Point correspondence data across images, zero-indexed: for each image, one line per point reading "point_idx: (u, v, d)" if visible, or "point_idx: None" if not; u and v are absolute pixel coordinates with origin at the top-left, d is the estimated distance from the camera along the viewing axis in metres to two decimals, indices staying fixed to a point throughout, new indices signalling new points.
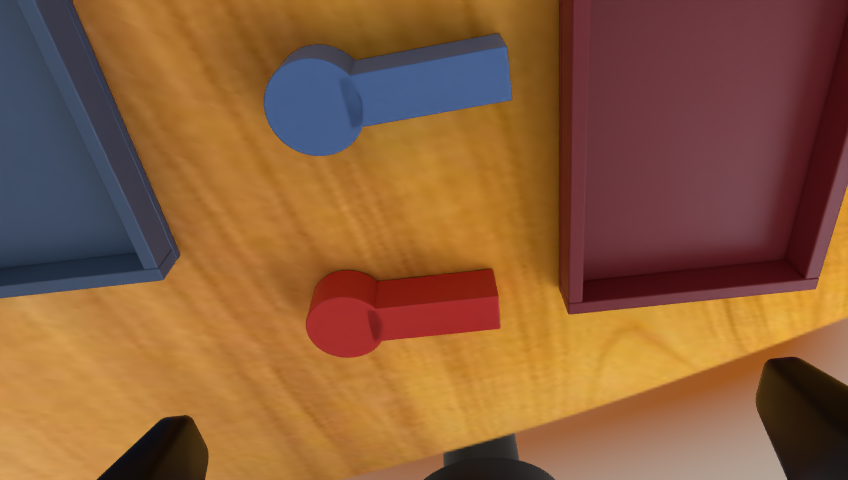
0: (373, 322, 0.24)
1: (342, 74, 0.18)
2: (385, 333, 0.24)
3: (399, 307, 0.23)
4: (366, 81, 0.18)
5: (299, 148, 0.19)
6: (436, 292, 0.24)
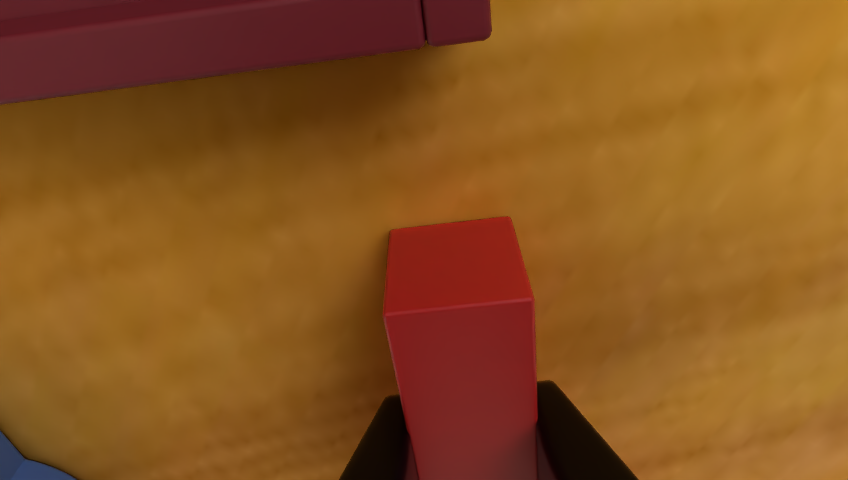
0: None
1: None
2: None
3: None
4: None
5: None
6: None
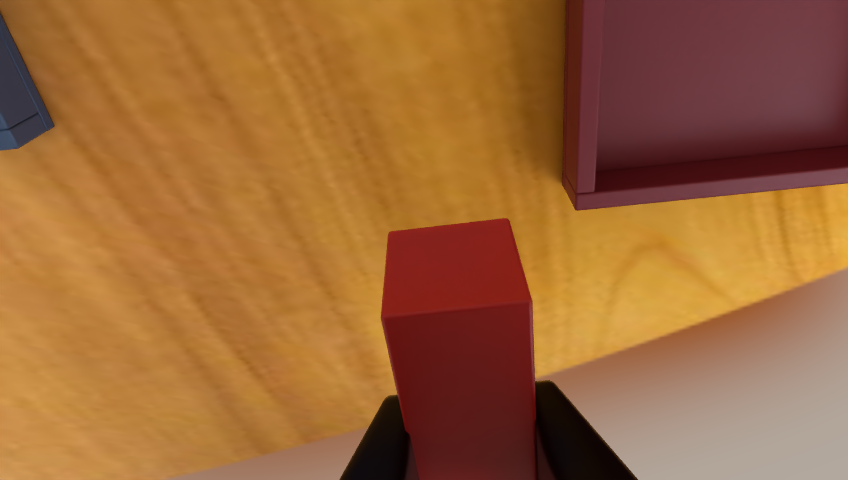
0: None
1: None
2: None
3: None
4: None
5: None
6: None
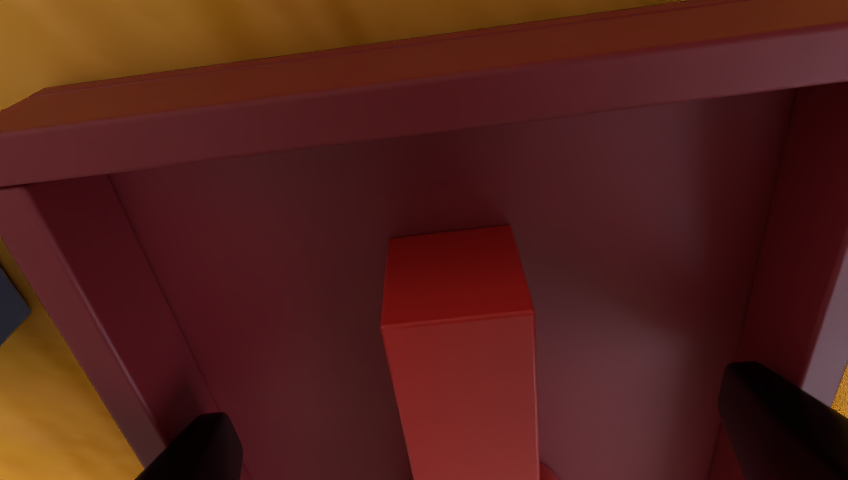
0: None
1: None
2: None
3: None
4: None
5: None
6: None
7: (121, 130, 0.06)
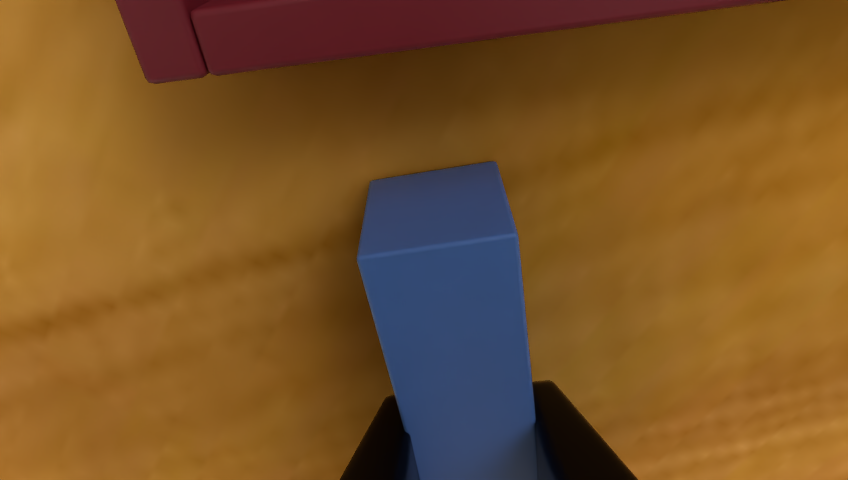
0: None
1: None
2: None
3: None
4: None
5: None
6: None
7: None
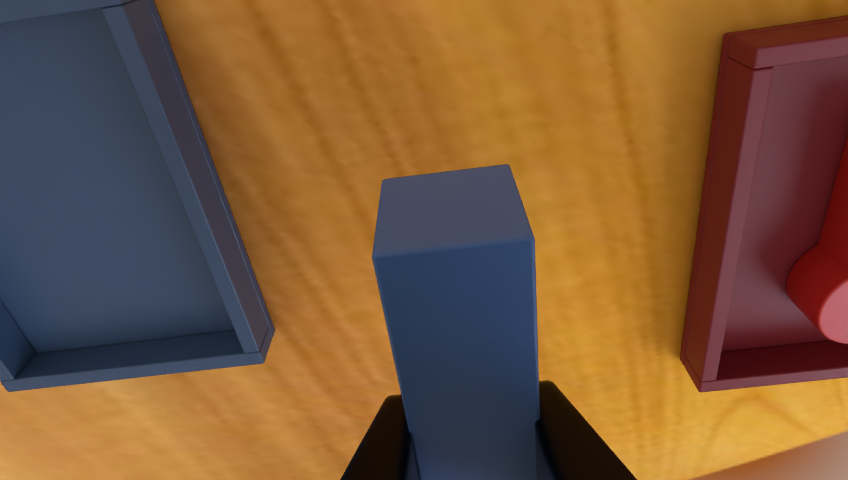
0: None
1: None
2: None
3: None
4: None
5: None
6: None
7: (828, 42, 0.15)
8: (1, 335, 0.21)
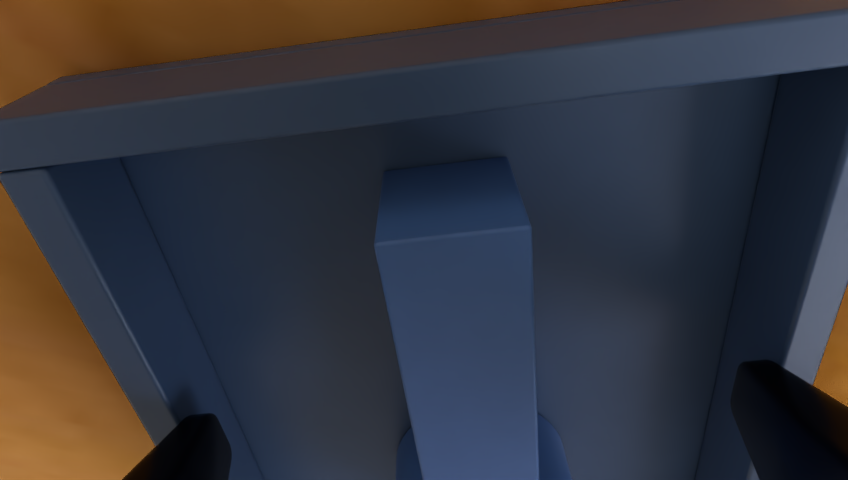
0: None
1: None
2: None
3: None
4: None
5: None
6: None
7: None
8: None
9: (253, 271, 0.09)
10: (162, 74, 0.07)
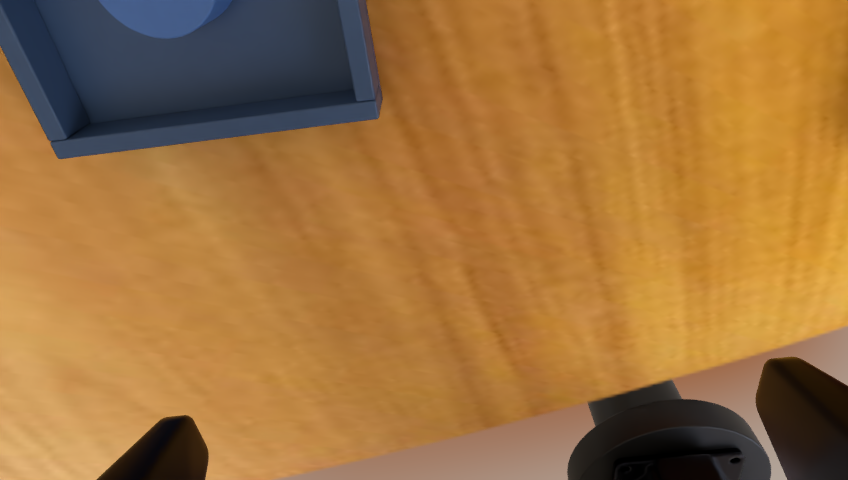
0: None
1: None
2: None
3: None
4: None
5: (208, 1, 0.14)
6: None
7: None
8: (53, 79, 0.17)
9: None
10: None
